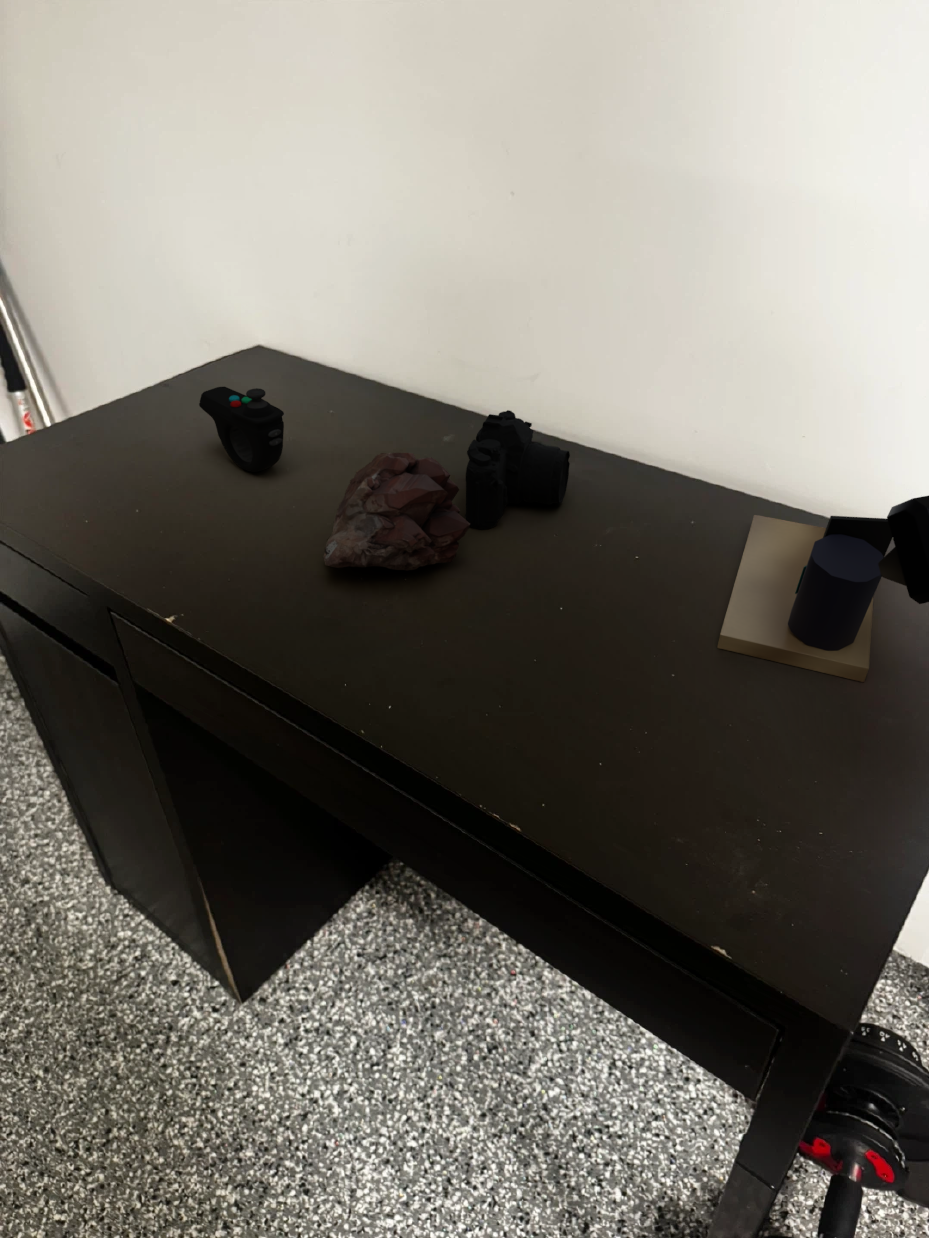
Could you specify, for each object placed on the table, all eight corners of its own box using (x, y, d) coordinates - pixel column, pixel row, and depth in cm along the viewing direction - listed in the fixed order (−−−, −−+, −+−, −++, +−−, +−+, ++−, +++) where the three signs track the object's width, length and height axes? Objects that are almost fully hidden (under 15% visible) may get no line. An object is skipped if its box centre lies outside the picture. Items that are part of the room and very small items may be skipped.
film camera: (546, 542, 90) (551, 462, 85) (455, 527, 93) (455, 449, 87) (575, 475, 102) (581, 401, 97) (494, 464, 104) (496, 391, 99)
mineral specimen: (361, 571, 95) (494, 546, 90) (308, 600, 83) (457, 573, 78) (334, 464, 92) (468, 432, 87) (274, 478, 80) (426, 442, 76)
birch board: (872, 550, 89) (877, 537, 89) (863, 682, 73) (869, 668, 72) (751, 526, 93) (754, 514, 92) (716, 648, 77) (720, 634, 76)
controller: (267, 488, 99) (254, 404, 93) (204, 455, 106) (188, 374, 100) (297, 475, 102) (287, 392, 96) (233, 443, 109) (220, 364, 103)
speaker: (794, 591, 80) (827, 498, 73) (860, 611, 79) (900, 516, 71) (776, 644, 75) (810, 549, 68) (846, 666, 74) (888, 571, 67)
